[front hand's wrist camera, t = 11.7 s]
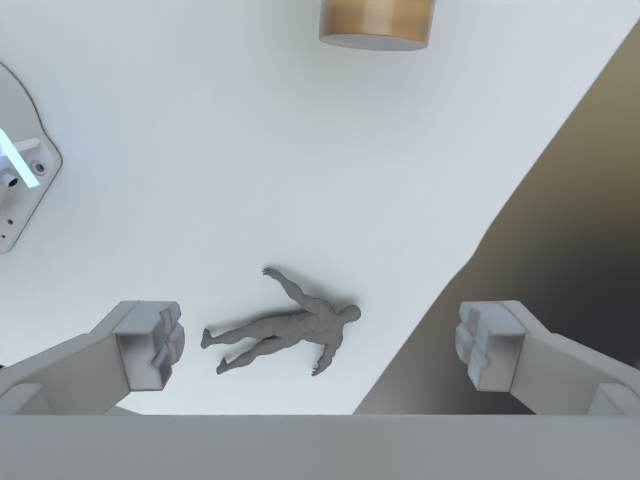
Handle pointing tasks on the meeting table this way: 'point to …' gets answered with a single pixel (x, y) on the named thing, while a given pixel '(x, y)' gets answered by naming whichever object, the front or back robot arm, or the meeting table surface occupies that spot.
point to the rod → (377, 24)
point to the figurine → (289, 329)
